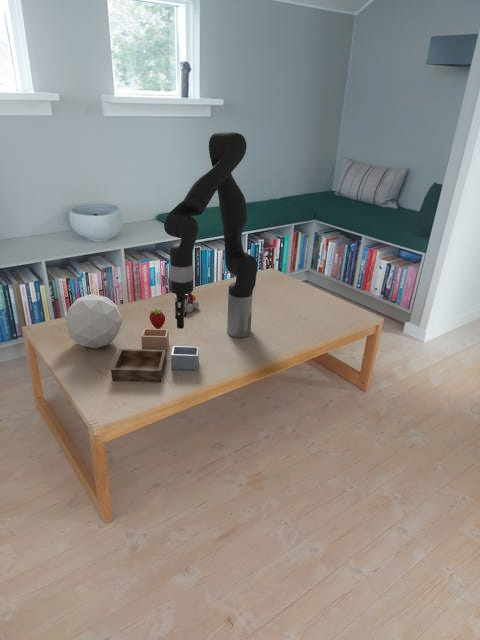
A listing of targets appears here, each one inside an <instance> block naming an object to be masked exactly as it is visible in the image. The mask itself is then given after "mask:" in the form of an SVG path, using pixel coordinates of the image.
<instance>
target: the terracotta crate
mask: <svg viewBox="0 0 480 640" xmlns="http://www.w3.org/2000/svg"><path fill="white" fill-rule="evenodd" d="M169 334H170V333H169V329H168V328H160V329H156V328H143V330H142V333H141V338H140V339H141V349H144V350H166V352H168V348H169V344H170V340H169V339H170V338H169V337H170V336H169Z"/></svg>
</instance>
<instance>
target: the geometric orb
mask: <svg viewBox="0 0 480 640" xmlns="http://www.w3.org/2000/svg"><path fill="white" fill-rule="evenodd" d="M64 323H65V326H66V329H67V333H68V336H69V338H70V339H72V341H74V342H76V344H78V345H79V346H81V347H86V348H91V349H99V348H102V347H106V346H108V345H111V343H113V341H114V340H115V339H116V337H117V336H118V335H119V332H120V329H121V327H122V323H123V318H122V316H121V313H120V310H119V307H118V306H117V304H116V303H114V302H113V301H112V300H111V299H110V298H109V297H106V296H104V295H103V296H102V295H99V294H94V293H90V294H88V295H85V296H82V297H78V298H77V299H76V300H75V301H73V303H72V304H71V306H69V307H68V309H67V313H66V316H65V321H64Z"/></svg>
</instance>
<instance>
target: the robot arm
mask: <svg viewBox="0 0 480 640" xmlns="http://www.w3.org/2000/svg"><path fill="white" fill-rule="evenodd" d="M246 152H247V141H246V139H245V136H244V135H243V134H242V133H238V132H232V131H215V132H213V133H212V135H211V136H210V138H209V140H208V153H209V159H210V163H211V166H212V168H210V169H209V170H208V171H206V172H205V173H204V174H202V175H201V176H200V177H199V178H198V179H196V180H195V182H194V183H192V185H191V187H190V188H189V190H188V192H187V194H186V196H184V199H182V201H180V202H178V204H177V205H176V206H175V207H173V209H172V210H171V211H170V212H169V213H168V214H167V216H166V217H165V218H164V223H163V229H164V232H165V234H167V235H169V236H171V237H174V238H178V239H180V243H174V244H173V245H172V246H171V247H170V249H169V252H170V253H169V260H170V261H169V290H170V292H171V294H175V297H174V307H175V308H174V311H175V316H174V318H175V320H176V328H177V329H178V330H179V329H184V327H185V318H187V315H188V312H187V303H188V294H189V293H191V294H192V292H193V291H194V264H193V263H194V260H193V258H194V257H193V255H194V253H193V252H194V249H195V244H196V241H197V238H198V235H199V223H198V221H197V220H196V219H195V218H194V217H198V216H200V215H202V214H203V213H204V212H205V210H206V209H207V206H208V205H209V204H210V202H211V200H212V198H213V197H214V195H215V193H216V192H217V197H218V204H219V212H220V218H221V219H220V220H221V224H222V225H221V226H222V232H223V234H222V235H223V241H224V261H225V267H226V269H227V271H228V272H229V273H230V274H232V275H234V276H235V282H232V283H230V284H229V285H228V295H227V297H228V299H227V300H228V301H227V320H226V321H227V323H226V324H227V326H226V333H227V335H228V336H230V337H232V338H236V339H237V338H239V339H241V338H242V339H243V338H247V337H251V333H252V332H251V330H252V316H253V315H252V310H253V309H252V307H253V305H252V304H253V292H254V289H255V287H256V282H257V274H258V263H257V262H258V261H257V259H256V257H255V256H253V255H252V254H249V253H248V252H245V251H244V248H243V239H242V238H243V237H242V236H243V232H244V229H245V227H246V224H247V221H248V210H247V209H248V208H247V201H246V197H245V195H244V193H243V192H242V189H240V187H239V185H238V184H237V182H236V180H235V179H234V176H233V175H232V173H233V171H234V170H235V169H236V168H237V167H238V165H239V164H240V163H241V162H242V160H243V159H244V157H245V155H246Z"/></svg>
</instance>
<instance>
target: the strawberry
mask: <svg viewBox="0 0 480 640" xmlns="http://www.w3.org/2000/svg"><path fill="white" fill-rule="evenodd" d="M162 311H163V309H162V310H161V309H160V310H158V308H155V310H154V311H152V310H151V311H150V312H149V313H148V314H149V322H150V323H151V324H152V326H153V327H154V329H162V327H163V326H164V324H165V322H166V317H165V316H166V315H165V314H164V312H162Z"/></svg>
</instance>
